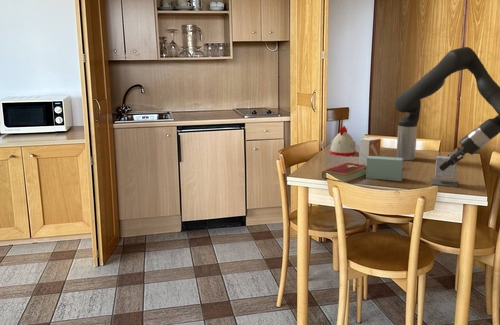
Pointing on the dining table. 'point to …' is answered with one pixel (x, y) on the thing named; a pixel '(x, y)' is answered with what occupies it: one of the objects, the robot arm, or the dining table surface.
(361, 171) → the hardcover book
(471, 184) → the dining table surface
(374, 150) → the small box
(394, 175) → the block
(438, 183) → the rubber mat
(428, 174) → the dining table surface
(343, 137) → the cream red beanie hat
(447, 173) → the grey upright block
